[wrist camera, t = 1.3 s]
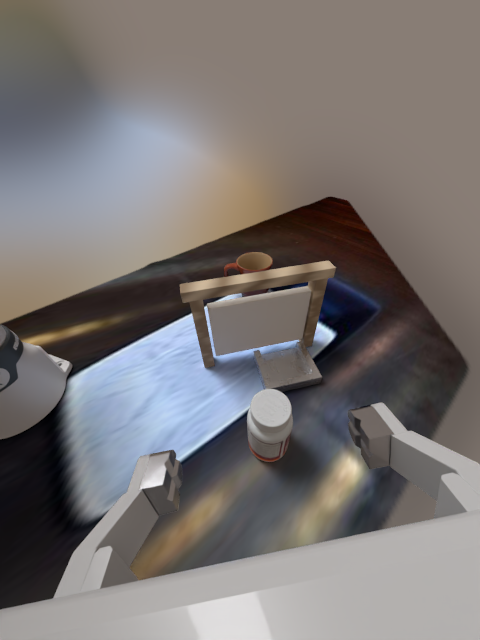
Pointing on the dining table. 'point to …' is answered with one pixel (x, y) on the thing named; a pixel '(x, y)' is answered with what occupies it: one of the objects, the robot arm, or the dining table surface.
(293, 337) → the door
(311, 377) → the keeper
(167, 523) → the dining table surface
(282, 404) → the pill bottle
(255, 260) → the mug
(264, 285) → the door frame
